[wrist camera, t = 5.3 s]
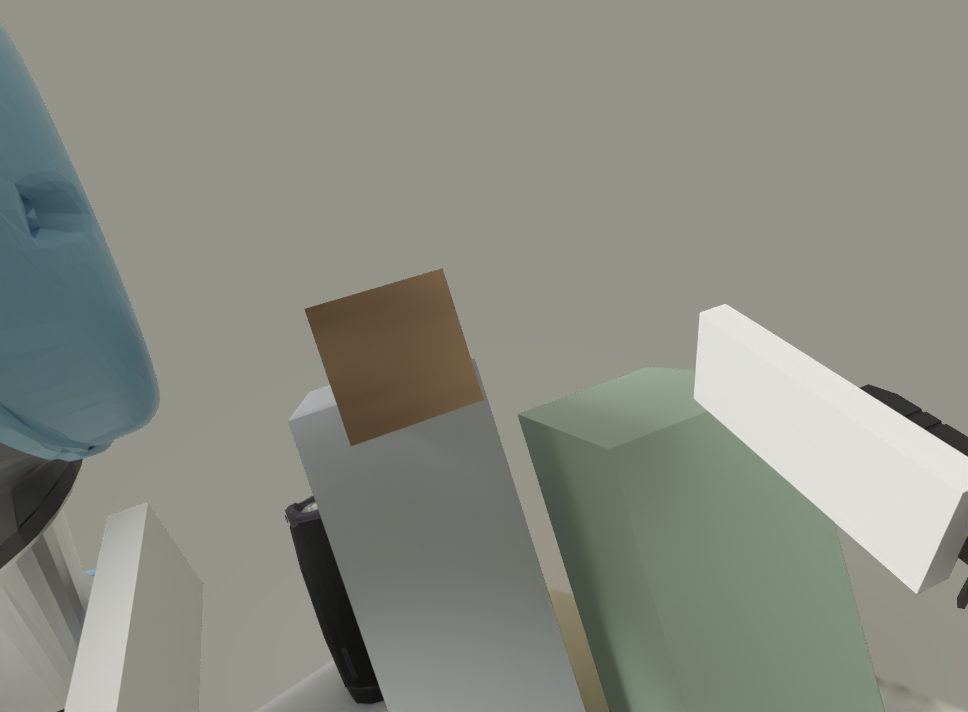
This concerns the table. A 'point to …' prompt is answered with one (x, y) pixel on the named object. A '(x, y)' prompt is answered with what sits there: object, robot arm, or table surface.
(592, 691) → the table surface
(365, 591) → the stand
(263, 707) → the table surface
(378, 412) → the bar
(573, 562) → the base block
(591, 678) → the table surface
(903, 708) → the table surface
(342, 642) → the portable speaker
